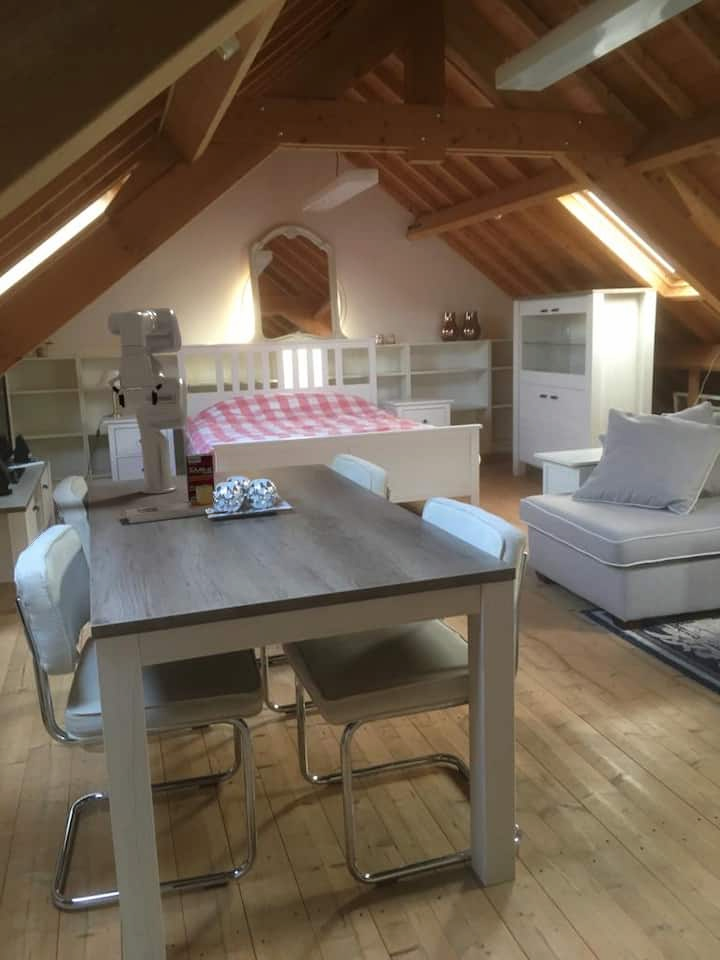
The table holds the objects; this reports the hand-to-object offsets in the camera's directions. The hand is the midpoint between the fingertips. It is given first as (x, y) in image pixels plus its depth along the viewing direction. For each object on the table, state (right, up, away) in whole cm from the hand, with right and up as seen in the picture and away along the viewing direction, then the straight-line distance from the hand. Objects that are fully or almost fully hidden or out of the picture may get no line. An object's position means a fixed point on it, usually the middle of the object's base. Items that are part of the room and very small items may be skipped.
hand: (138, 406), depth 257 cm
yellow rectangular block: (+22, -33, -1) cm, 40 cm away
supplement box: (+17, -31, +14) cm, 38 cm away
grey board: (+13, -34, -4) cm, 37 cm away
